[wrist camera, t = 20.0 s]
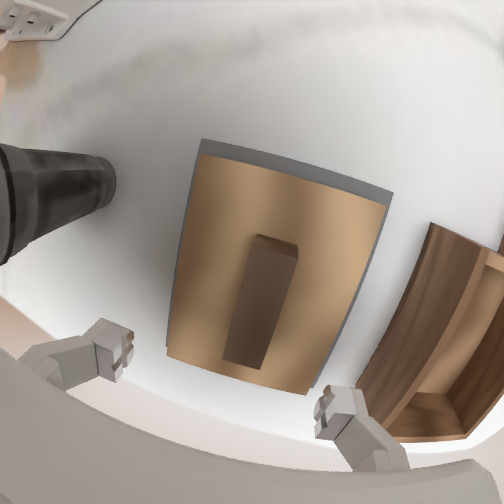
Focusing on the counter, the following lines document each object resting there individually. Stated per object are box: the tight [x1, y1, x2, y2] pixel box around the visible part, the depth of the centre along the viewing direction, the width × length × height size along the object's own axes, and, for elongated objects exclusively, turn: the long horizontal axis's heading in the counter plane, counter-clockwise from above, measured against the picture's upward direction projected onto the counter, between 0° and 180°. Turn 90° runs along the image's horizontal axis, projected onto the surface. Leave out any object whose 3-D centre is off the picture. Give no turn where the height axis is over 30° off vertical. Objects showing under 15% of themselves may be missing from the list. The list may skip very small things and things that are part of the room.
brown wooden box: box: [356, 222, 504, 443], centre depth 16 cm, size 12×20×8 cm, turn 166°
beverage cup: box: [0, 143, 116, 266], centre depth 12 cm, size 7×7×20 cm
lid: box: [167, 154, 386, 396], centre depth 19 cm, size 12×16×5 cm
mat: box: [166, 139, 393, 388], centre depth 21 cm, size 14×18×1 cm
